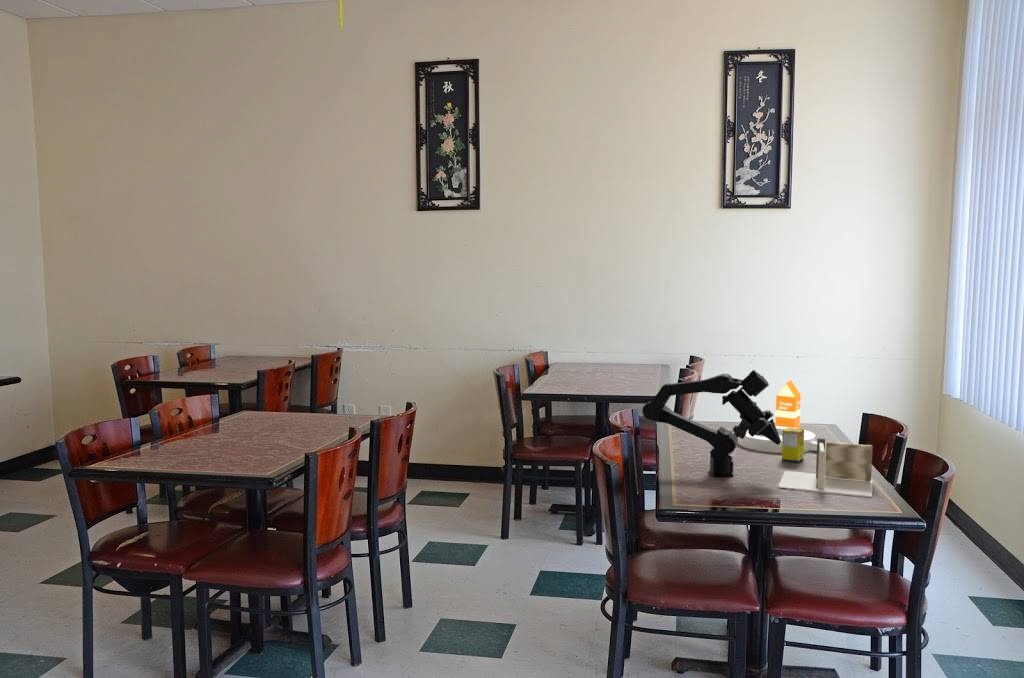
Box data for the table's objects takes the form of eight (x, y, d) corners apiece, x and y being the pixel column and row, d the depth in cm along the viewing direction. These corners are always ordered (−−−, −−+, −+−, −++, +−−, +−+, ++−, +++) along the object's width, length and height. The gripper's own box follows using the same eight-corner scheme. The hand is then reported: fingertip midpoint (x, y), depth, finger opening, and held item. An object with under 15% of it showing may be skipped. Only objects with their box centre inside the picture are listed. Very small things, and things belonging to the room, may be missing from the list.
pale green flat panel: (818, 487, 262) (819, 451, 261) (817, 477, 274) (818, 442, 273) (824, 488, 261) (825, 452, 260) (823, 477, 274) (824, 442, 273)
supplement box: (803, 460, 301) (804, 429, 300) (798, 463, 296) (799, 432, 295) (786, 457, 305) (787, 427, 304) (781, 461, 300) (782, 430, 299)
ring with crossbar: (825, 454, 312) (826, 441, 311) (747, 453, 312) (748, 440, 312) (801, 437, 339) (802, 425, 339) (730, 437, 340) (730, 425, 340)
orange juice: (799, 429, 354) (801, 381, 352) (794, 433, 347) (796, 383, 345) (780, 427, 358) (782, 379, 356) (774, 431, 351) (776, 382, 349)
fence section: (815, 479, 275) (816, 439, 274) (816, 477, 277) (817, 437, 276) (870, 484, 269) (872, 443, 267) (871, 483, 271) (872, 442, 270)
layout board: (778, 488, 265) (778, 486, 265) (784, 472, 284) (784, 470, 284) (871, 497, 255) (872, 495, 254) (872, 480, 274) (872, 478, 274)
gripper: (730, 417, 287) (763, 453, 284) (721, 427, 270) (756, 465, 267) (756, 395, 283) (789, 431, 280) (748, 404, 266) (784, 443, 263)
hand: (779, 443), depth 273 cm, fingers closed
